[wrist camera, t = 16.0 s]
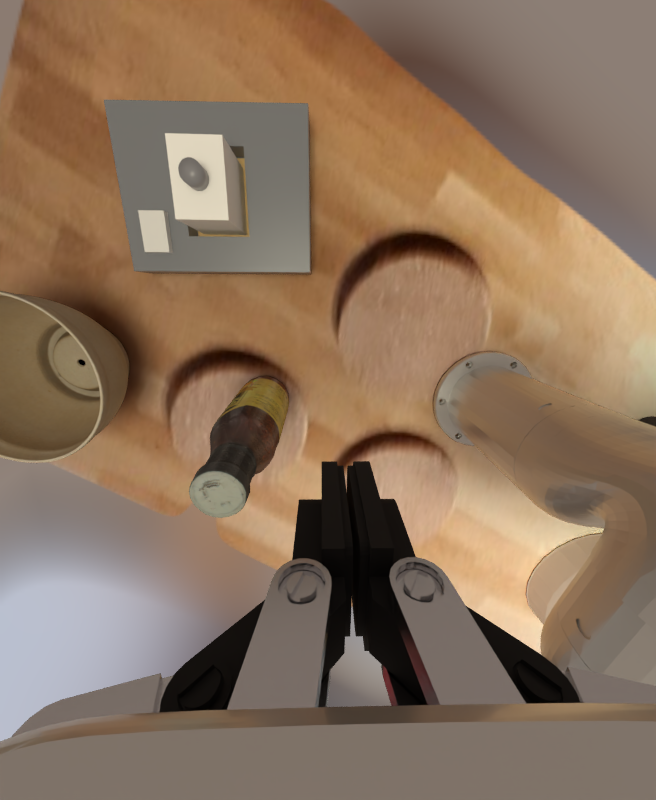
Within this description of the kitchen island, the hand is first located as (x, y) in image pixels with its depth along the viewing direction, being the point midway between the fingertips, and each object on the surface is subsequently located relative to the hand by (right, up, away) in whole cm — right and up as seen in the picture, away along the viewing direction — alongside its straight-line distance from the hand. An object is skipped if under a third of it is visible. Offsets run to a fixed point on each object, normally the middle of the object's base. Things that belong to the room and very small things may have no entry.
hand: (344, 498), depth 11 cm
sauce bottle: (-9, +4, +30) cm, 31 cm away
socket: (-11, +24, +22) cm, 35 cm away
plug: (-11, +24, +21) cm, 34 cm away
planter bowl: (-30, +8, +28) cm, 41 cm away
